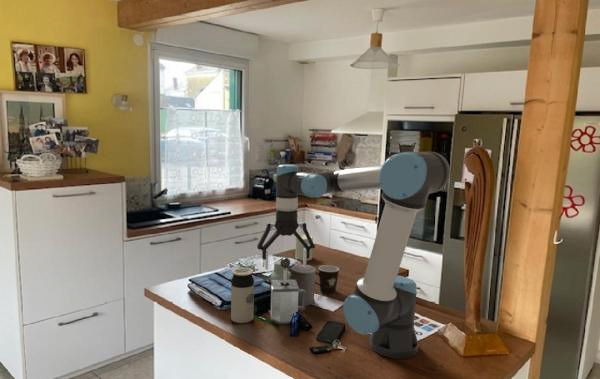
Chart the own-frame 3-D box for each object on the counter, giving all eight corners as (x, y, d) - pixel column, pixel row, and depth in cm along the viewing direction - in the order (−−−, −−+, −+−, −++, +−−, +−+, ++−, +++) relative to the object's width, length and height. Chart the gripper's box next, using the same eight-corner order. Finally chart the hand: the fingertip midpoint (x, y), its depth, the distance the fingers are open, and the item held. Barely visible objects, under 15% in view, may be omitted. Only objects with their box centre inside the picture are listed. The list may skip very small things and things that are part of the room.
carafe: (306, 324, 152) (307, 288, 150) (271, 325, 150) (272, 289, 148) (302, 311, 161) (303, 278, 159) (269, 313, 160) (269, 279, 158)
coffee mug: (338, 287, 186) (339, 265, 185) (337, 295, 178) (339, 272, 176) (311, 286, 188) (312, 264, 186) (310, 293, 179) (310, 270, 178)
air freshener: (289, 289, 183) (289, 266, 182) (269, 288, 184) (270, 266, 182) (290, 280, 194) (290, 258, 193) (272, 279, 194) (272, 258, 193)
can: (304, 254, 234) (305, 232, 232) (315, 258, 227) (316, 236, 225) (291, 257, 228) (292, 235, 226) (302, 261, 221) (303, 239, 219)
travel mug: (226, 317, 155) (227, 269, 152) (245, 312, 160) (246, 265, 157) (238, 325, 149) (239, 276, 146) (257, 319, 154) (258, 271, 151)
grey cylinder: (285, 302, 169) (287, 266, 167) (296, 294, 178) (297, 259, 175) (308, 308, 165) (310, 271, 163) (318, 299, 174) (319, 263, 171)
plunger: (295, 309, 152) (296, 260, 149) (275, 310, 151) (276, 261, 148) (292, 301, 159) (294, 254, 156) (273, 302, 158) (274, 255, 155)
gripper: (319, 206, 155) (318, 263, 158) (250, 207, 151) (250, 265, 154) (323, 210, 147) (322, 270, 150) (251, 211, 144) (250, 272, 147)
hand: (285, 267), depth 152 cm, fingers open, 13 cm apart
